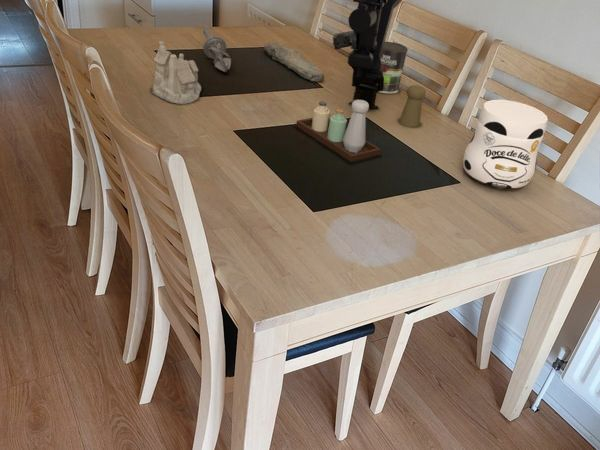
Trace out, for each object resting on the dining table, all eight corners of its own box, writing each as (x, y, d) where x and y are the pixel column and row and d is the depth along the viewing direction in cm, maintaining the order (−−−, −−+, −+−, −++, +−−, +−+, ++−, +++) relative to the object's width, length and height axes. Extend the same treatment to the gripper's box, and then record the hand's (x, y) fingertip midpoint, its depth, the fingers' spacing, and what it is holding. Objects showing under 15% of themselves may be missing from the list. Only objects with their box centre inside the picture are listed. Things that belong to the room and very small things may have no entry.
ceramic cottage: (171, 105, 166) (173, 51, 159) (142, 88, 176) (143, 36, 169) (218, 100, 175) (222, 48, 168) (188, 84, 186) (190, 34, 178)
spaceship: (218, 21, 215) (198, 13, 211) (243, 63, 190) (221, 54, 186) (209, 41, 219) (189, 33, 214) (232, 84, 194) (210, 76, 189)
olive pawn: (421, 122, 177) (430, 86, 171) (416, 128, 172) (425, 92, 167) (402, 116, 179) (410, 81, 173) (396, 123, 174) (404, 87, 168)
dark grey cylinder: (394, 96, 193) (403, 53, 186) (364, 89, 196) (372, 46, 189) (402, 87, 202) (411, 46, 194) (373, 80, 204) (380, 39, 197)
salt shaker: (368, 150, 155) (377, 102, 148) (355, 156, 151) (364, 107, 144) (350, 142, 158) (358, 95, 151) (337, 147, 154) (345, 100, 147)
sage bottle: (336, 134, 161) (340, 106, 157) (346, 140, 158) (351, 112, 154) (323, 136, 159) (328, 108, 154) (334, 143, 156) (338, 114, 152)
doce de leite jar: (491, 200, 141) (515, 130, 131) (445, 166, 153) (463, 100, 143) (543, 190, 148) (569, 123, 138) (495, 159, 161) (515, 95, 151)
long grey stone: (304, 87, 194) (329, 86, 199) (307, 72, 191) (333, 71, 196) (256, 48, 217) (279, 48, 222) (258, 34, 214) (281, 34, 220)
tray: (324, 122, 169) (325, 115, 168) (379, 156, 154) (381, 149, 153) (295, 127, 163) (296, 120, 162) (350, 163, 148) (351, 156, 147)
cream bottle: (320, 124, 166) (324, 99, 162) (330, 130, 163) (334, 104, 159) (308, 126, 163) (311, 101, 159) (317, 132, 160) (321, 107, 156)
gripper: (341, 12, 165) (333, 67, 173) (332, 28, 149) (324, 87, 157) (381, 18, 164) (371, 73, 172) (376, 35, 148) (366, 95, 156)
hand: (357, 82), depth 164 cm, fingers open, 9 cm apart
